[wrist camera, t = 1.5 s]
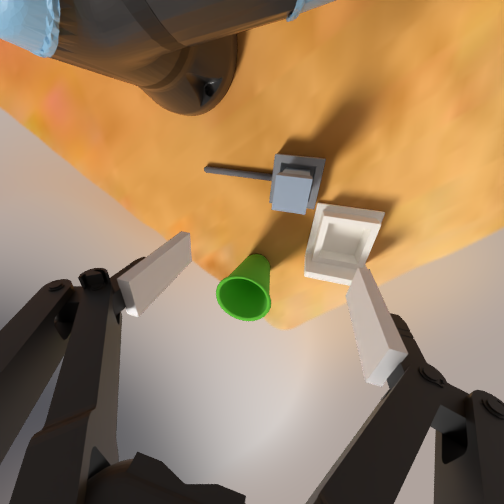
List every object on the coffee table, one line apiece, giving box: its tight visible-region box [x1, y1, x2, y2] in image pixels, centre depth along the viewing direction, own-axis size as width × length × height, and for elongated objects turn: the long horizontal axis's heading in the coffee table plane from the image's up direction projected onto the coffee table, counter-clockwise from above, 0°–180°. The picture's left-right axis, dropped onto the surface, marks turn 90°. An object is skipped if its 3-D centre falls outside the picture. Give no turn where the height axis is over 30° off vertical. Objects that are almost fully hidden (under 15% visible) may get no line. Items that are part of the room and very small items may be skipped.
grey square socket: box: [269, 153, 326, 209], centre depth 31 cm, size 7×7×3 cm
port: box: [304, 202, 385, 286], centre depth 31 cm, size 10×10×8 cm
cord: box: [204, 166, 273, 181], centre depth 33 cm, size 1×12×1 cm, turn 85°
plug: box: [272, 167, 313, 215], centre depth 27 cm, size 4×4×10 cm
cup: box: [216, 254, 271, 321], centre depth 37 cm, size 9×9×11 cm
